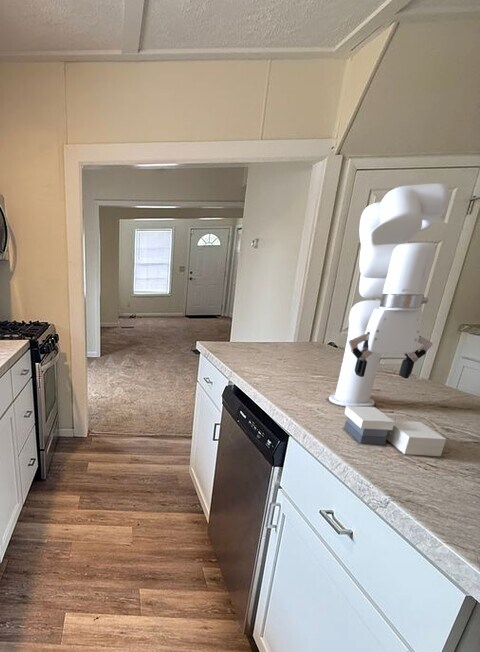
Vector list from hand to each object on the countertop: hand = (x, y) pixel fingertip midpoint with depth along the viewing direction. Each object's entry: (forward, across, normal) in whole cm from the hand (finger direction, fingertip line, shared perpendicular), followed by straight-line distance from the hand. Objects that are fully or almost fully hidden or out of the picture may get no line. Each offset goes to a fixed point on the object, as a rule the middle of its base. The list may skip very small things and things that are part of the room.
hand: (381, 376), depth 97 cm
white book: (+12, 0, -1) cm, 12 cm away
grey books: (+16, 0, -1) cm, 16 cm away
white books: (+16, -8, +4) cm, 19 cm away
